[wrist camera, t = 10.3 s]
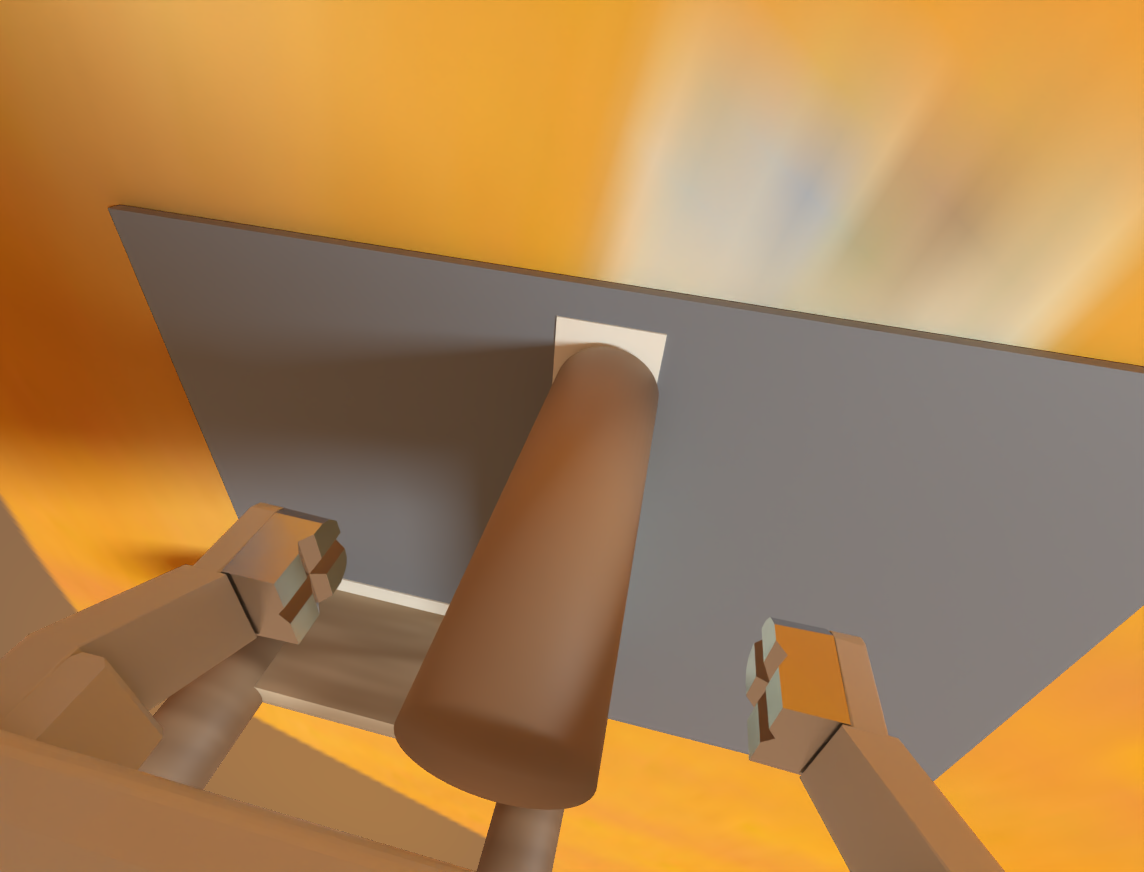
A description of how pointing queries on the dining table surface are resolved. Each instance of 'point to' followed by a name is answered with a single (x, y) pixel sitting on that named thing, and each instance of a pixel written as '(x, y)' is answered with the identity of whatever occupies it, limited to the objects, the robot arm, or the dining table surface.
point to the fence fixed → (331, 706)
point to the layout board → (679, 464)
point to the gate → (542, 601)
